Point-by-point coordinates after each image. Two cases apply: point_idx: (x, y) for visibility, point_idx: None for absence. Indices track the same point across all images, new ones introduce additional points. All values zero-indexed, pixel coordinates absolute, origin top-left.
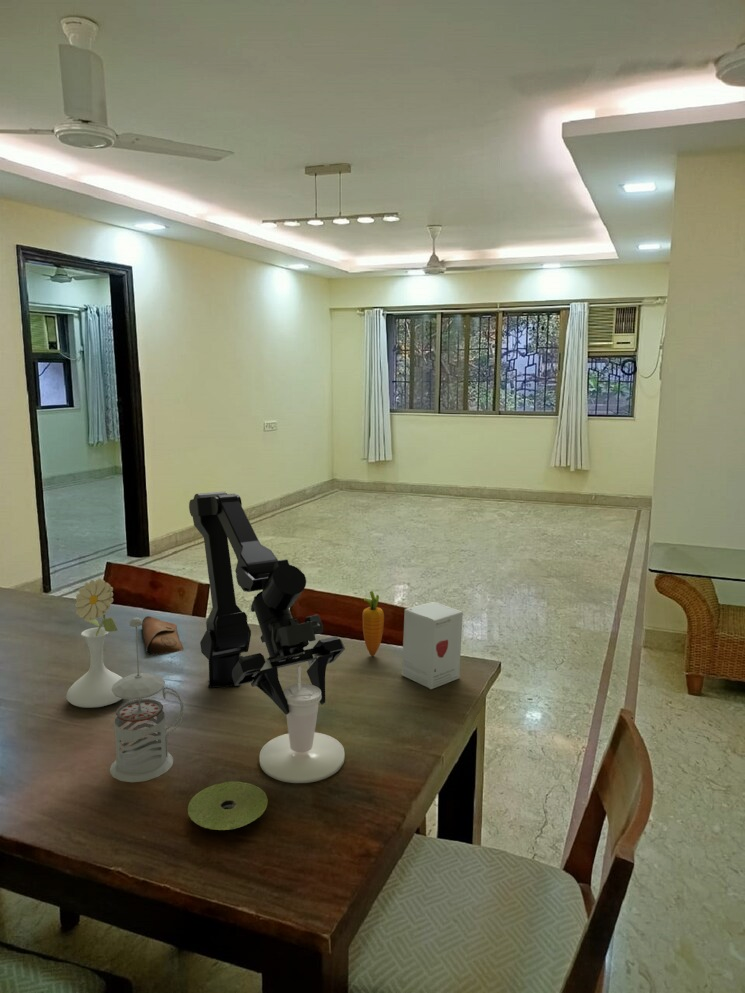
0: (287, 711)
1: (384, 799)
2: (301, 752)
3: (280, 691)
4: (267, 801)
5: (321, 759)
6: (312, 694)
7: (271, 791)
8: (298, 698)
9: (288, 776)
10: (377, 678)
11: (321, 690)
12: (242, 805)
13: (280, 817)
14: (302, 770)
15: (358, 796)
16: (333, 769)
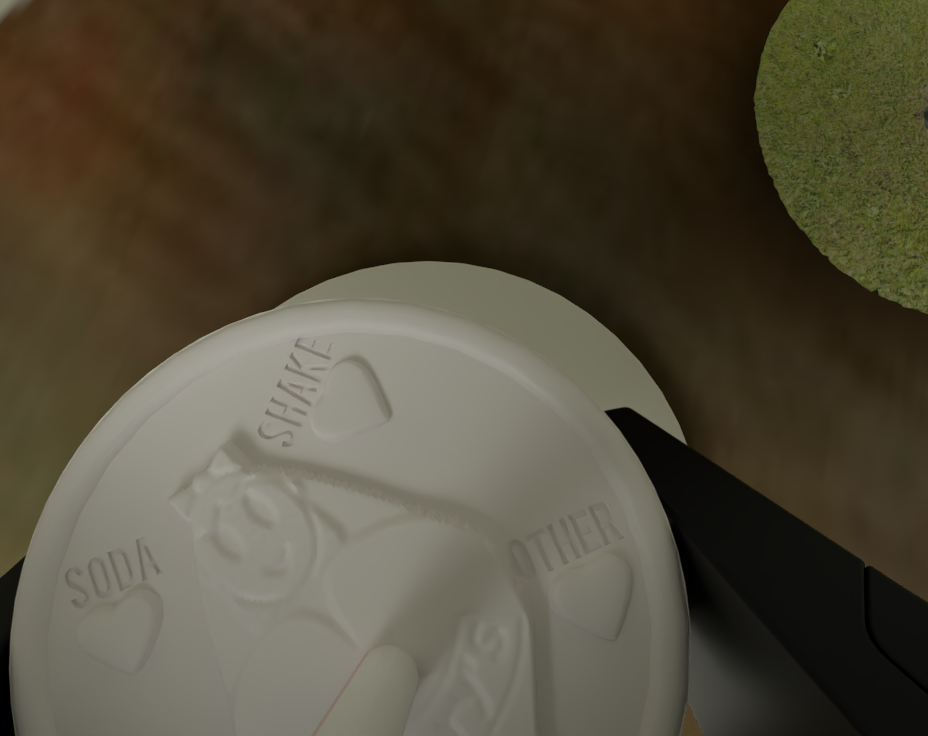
0: (627, 411)
1: (157, 19)
2: None
3: (806, 591)
4: (760, 66)
5: None
6: (214, 458)
7: (678, 270)
8: (473, 424)
9: (576, 307)
10: None
11: (4, 627)
12: (893, 84)
13: (678, 58)
14: None
15: (265, 81)
16: (303, 294)
